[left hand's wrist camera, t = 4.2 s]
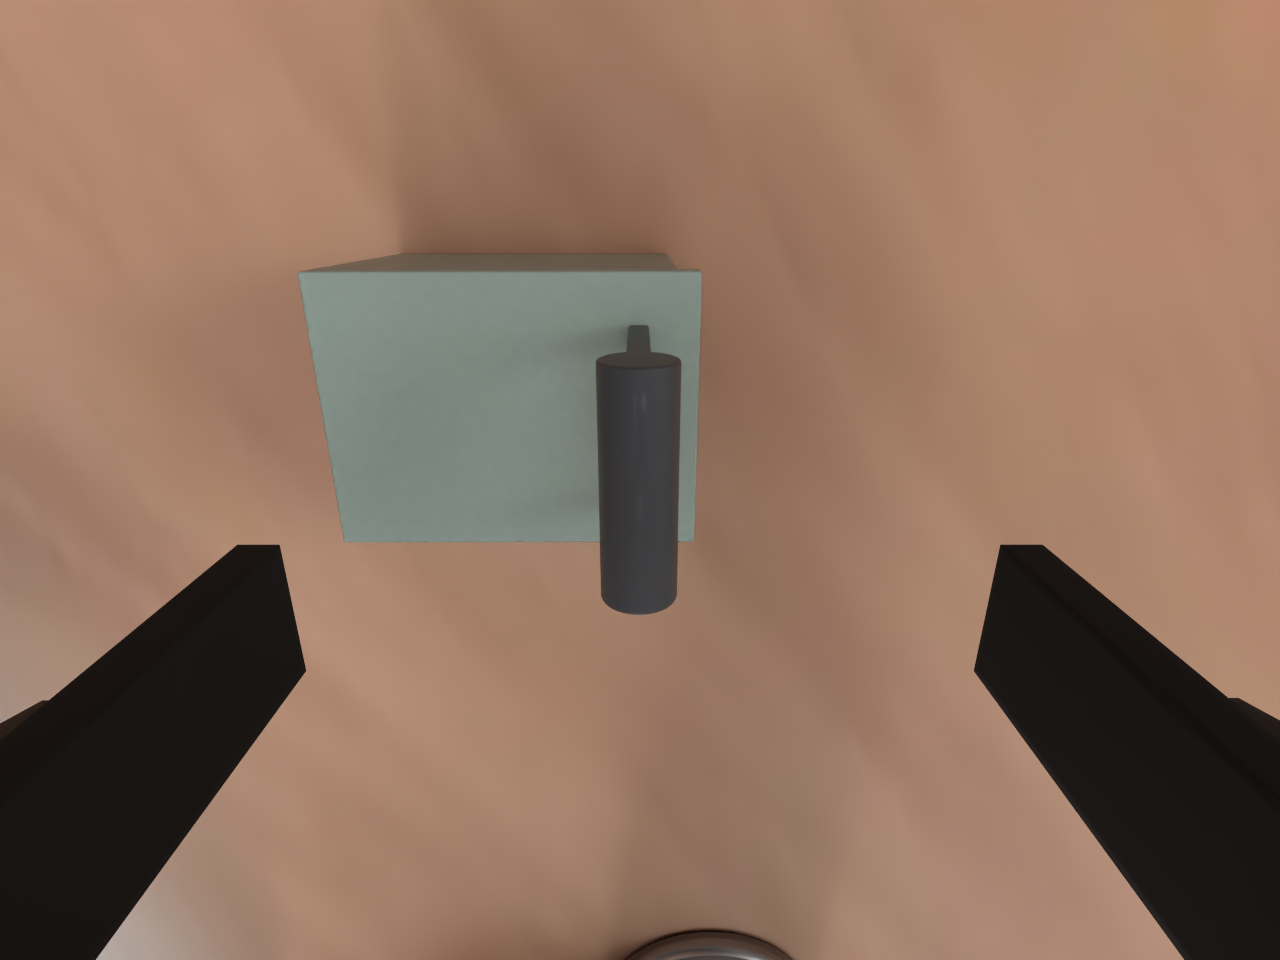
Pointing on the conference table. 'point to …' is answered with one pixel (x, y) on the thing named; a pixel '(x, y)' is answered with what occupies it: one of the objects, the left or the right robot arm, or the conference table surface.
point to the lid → (515, 410)
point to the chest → (511, 261)
